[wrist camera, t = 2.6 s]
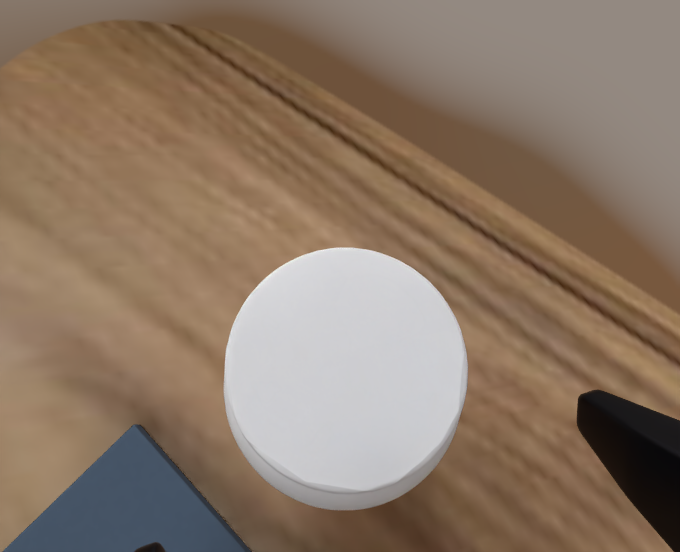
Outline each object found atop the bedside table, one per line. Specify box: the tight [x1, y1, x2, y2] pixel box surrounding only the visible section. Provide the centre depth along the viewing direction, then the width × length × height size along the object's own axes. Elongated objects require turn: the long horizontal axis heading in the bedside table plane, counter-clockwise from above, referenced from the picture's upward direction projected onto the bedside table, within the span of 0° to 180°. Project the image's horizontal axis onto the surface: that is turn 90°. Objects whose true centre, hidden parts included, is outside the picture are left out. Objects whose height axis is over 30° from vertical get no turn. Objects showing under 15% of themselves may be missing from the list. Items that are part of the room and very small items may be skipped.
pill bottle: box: [224, 248, 468, 510], centre depth 13 cm, size 6×6×11 cm
